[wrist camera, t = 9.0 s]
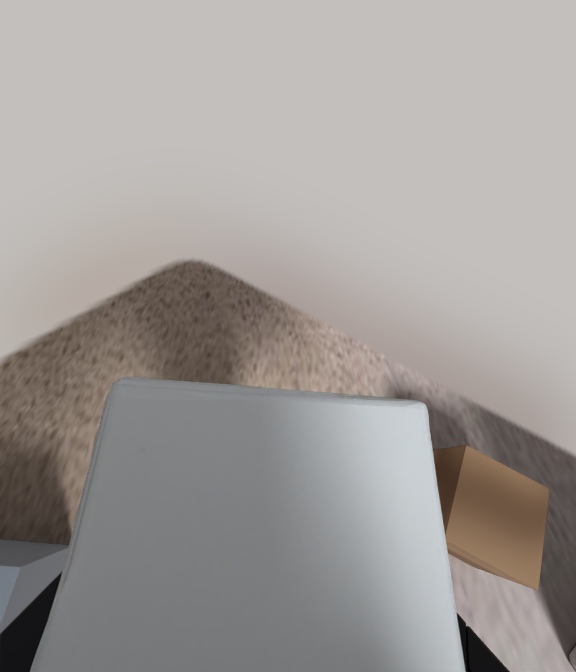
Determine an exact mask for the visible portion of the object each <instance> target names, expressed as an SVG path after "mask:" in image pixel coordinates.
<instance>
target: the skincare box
mask: <svg viewBox="0 0 576 672" xmlns="http://www.w3.org/2000/svg"><path fill="white" fill-rule="evenodd" d="M30 672H466V671H465V665H464V658H463V652H462V645H461V639H460V633H459V626H458V620H457V613H456V606H455V600H454V593H453V586H452V579H451V572H450V565H449V558H448V551H447V545H446V538H445V531H444V525H443V518H442V512H441V505H440V499H439V492H438V486H437V479H436V471H435V464H434V457H433V449H432V442H431V435H430V428H429V416H428V410H427V407H426V404H424V403H423V402H421V401H419V400H408V399H395V398H383V397H372V396H361V395H349V394H337V393H325V392H313V391H300V390H287V389H274V388H263V387H252V386H242V385H231V384H217V383H204V382H190V381H176V380H163V379H151V378H139V377H123V378H121V379H119V380H117V381H116V382H115V383H113V385H112V387H111V389H110V391H109V393H108V395H107V398H106V402H105V406H104V410H103V414H102V418H101V422H100V426H99V430H98V434H97V437H96V441H95V445H94V449H93V453H92V457H91V461H90V465H89V469H88V473H87V477H86V481H85V485H84V489H83V493H82V497H81V501H80V505H79V508H78V512H77V516H76V519H75V523H74V527H73V532H72V536H71V540H70V544H69V548H68V552H67V556H66V560H65V563H64V567H63V571H62V575H61V579H60V582H59V586H58V589H57V592H56V595H55V599H54V602H53V605H52V609H51V612H50V615H49V618H48V621H47V624H46V627H45V630H44V633H43V635H42V638H41V641H40V644H39V646H38V649H37V652H36V655H35V658H34V661H33V663H32V667H31V670H30Z"/></svg>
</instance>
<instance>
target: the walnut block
mask: <svg viewBox="0 0 576 672" xmlns="http://www.w3.org/2000/svg"><path fill="white" fill-rule="evenodd" d="M433 457H434V464H435V471H436V479H437V486H438V492H439V499H440V505H441V512H442V518H443V525H444V531H445V538H446V545H447V551H448V553H449V554H451V555H452V556H454V557H456V558H458V559H460V560H462V561H463V562H465V563H467V564H469V565H471V566H473V567H475V568H478V569H481V570H484V571H486V572H489V573H492V574H494V575H497V576H500V577H503V578H505V579H508V580H511V581H513V582H516V583H519V584H522V585H524V586H527V587H530V588H533V589H535V590H538V589H539V580H540V571H541V563H542V554H543V545H544V537H545V528H546V519H547V510H548V502H549V493H550V489H549V488H547V487H545V486H543V485H541V484H539V483H537V482H536V481H534V480H532V479H530V478H528V477H526V476H524V475H522V474H520V473H518V472H517V471H515V470H513V469H511V468H509V467H507V466H505V465H503V464H501V463H499V462H497V461H496V460H494V459H492V458H490V457H488V456H486V455H484V454H482V453H480V452H478V451H477V450H475V449H473V448H471V447H469V446H467V445H465V446H458V447H451V448H444V449H437V450H433Z"/></svg>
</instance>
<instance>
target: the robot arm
mask: <svg viewBox="0 0 576 672" xmlns="http://www.w3.org/2000/svg"><path fill="white" fill-rule="evenodd" d="M61 575H62V572H61V573H60V574H59V575H58V576H57V577H56V578H55V579H54V580H53V581H52V582H51V583H50V584H49V585H48V586H47V587H46V588H45V589H44V590H43V591H42V592H41V593H40V594H39V595H38V596H37V597H36V598H35V599H34V600H33V601H32V602H31V603H30V604H29V605H28V606H27V607H26V608H25V609H24V610H23V611H22V612H21V613H20V614H19V615H18V616H17V617H16V618H15V619H14V620H13V621H12V622H11V623H10V624H9V625H8V626H7V627H6V628H5V629H4V630H3V631H2V632H1V633H0V672H30V670H31V667H32V663H33V661H34V658H35V655H36V652H37V649H38V646H39V644H40V641H41V638H42V635H43V633H44V630H45V627H46V624H47V621H48V618H49V615H50V612H51V609H52V605H53V602H54V599H55V595H56V592H57V589H58V586H59V582H60V579H61ZM456 613H457V612H456ZM457 620H458V626H459V633H460V639H461V645H462V652H463V658H464V665H465V671H466V672H510V671H509V670H508V669H507V668H506V667H505V666H504V665H503V664H502V663H501V662H500V660H499V659H498V658H497V657H496V656H495V655H494V654H493V653H492V652H491V651H490V649H489V648H488V647H487V646H486V645H485V644H484V643H483V642H482V641H481V639H480V638H479V637H478V636H477V635H476V634H475V633H474V631H473V630H472V629H471V628H470V627H469V626H467V627H466V623H465V621H464V620H463V619H462V618H461V617H460V616H459V615H458V613H457Z"/></svg>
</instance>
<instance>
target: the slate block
mask: <svg viewBox="0 0 576 672" xmlns="http://www.w3.org/2000/svg"><path fill="white" fill-rule="evenodd" d="M68 548H69V545H63V544H51V543H38V542H26V541H14V540H2V539H0V633H1V632H2V631H3V630H4V629H5V628H6V627H7V626H8V625H9V624H10V623H11V622H12V621H13V620H14V619H15V618H16V617H17V616H18V615H19V614H20V613H21V612H22V611H23V610H24V609H25V608H26V607H27V606H28V605H29V604H30V603H31V602H32V601H33V600H34V599H35V598H36V597H37V596H38V595H39V594H40V593H41V592H42V591H43V590H44V589H45V588H46V587H47V586H48V585H49V584H50V583H51V582H52V581H53V580H54V579H55V578H56V577H57V576H58V575H59V574H60V573H61V572H62V571H63V567H64V563H65V560H66V556H67V552H68Z"/></svg>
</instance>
